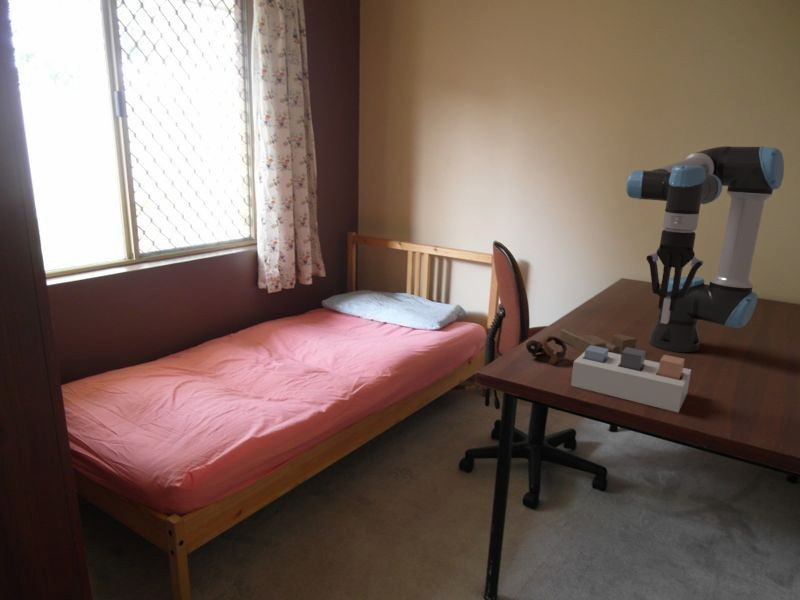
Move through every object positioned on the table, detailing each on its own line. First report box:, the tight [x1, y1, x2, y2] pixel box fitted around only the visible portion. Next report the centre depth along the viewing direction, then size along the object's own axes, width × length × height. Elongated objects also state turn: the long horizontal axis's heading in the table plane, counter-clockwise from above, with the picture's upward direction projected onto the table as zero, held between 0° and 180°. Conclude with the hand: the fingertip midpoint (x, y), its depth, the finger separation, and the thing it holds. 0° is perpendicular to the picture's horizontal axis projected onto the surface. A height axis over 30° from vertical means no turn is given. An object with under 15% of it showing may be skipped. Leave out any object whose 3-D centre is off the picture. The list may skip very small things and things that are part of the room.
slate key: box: [584, 345, 609, 363], centre depth 158 cm, size 5×5×5 cm
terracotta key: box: [658, 354, 686, 380], centre depth 147 cm, size 5×5×5 cm
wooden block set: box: [559, 328, 637, 354], centre depth 188 cm, size 17×6×18 cm
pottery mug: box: [525, 335, 567, 365], centre depth 174 cm, size 12×10×8 cm
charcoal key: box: [620, 347, 647, 371], centre depth 152 cm, size 5×5×5 cm
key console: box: [570, 352, 692, 413], centre depth 153 cm, size 27×14×7 cm, turn 56°
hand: (664, 322), depth 146 cm, fingers closed
